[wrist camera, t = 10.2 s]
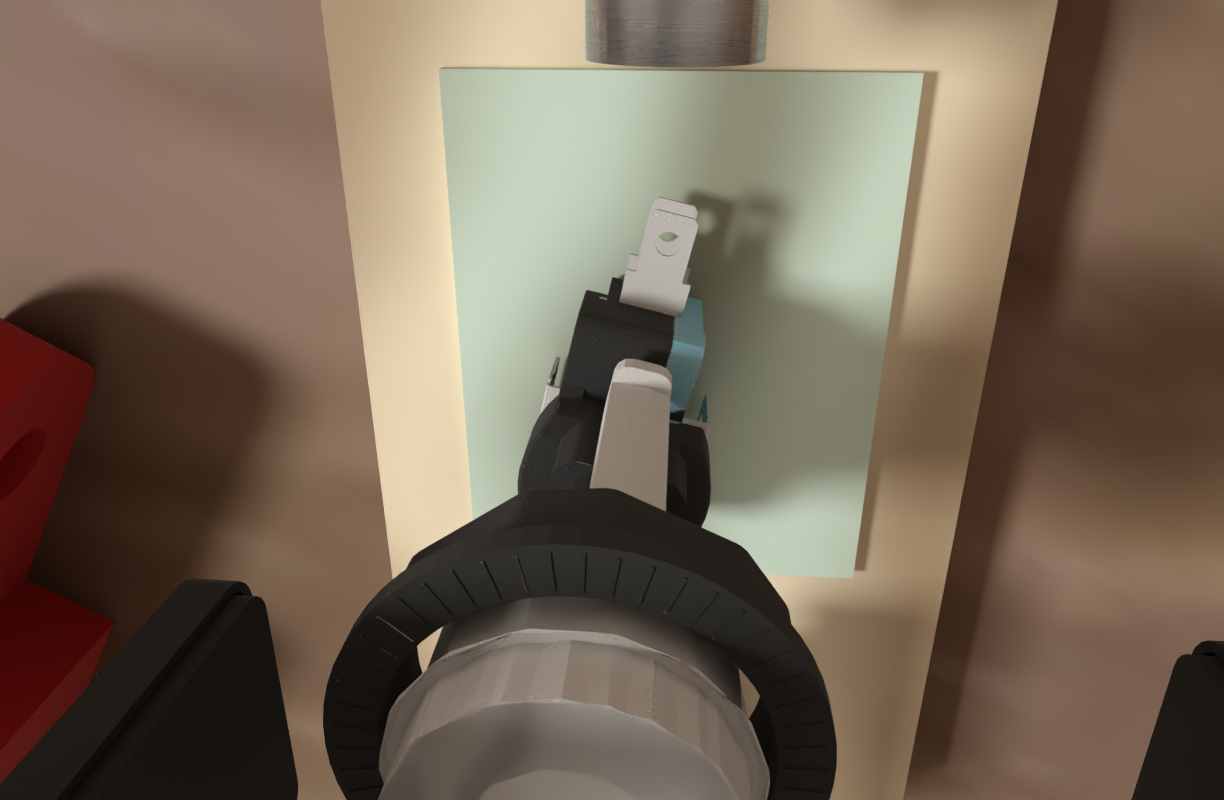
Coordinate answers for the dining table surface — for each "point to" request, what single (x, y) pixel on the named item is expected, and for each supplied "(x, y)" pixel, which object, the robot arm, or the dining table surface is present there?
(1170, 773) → the robot arm
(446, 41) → the board
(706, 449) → the push button
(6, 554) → the mechanical linkage
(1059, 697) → the dining table surface
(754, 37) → the cylinder and cube
